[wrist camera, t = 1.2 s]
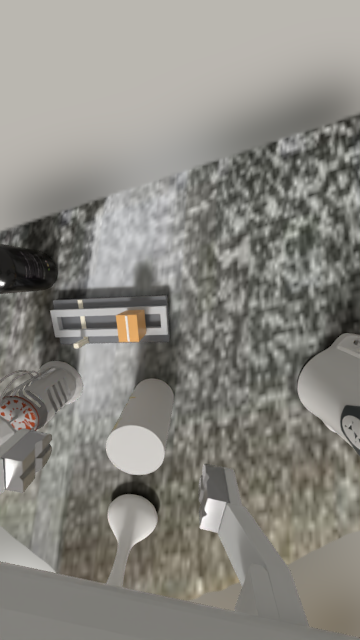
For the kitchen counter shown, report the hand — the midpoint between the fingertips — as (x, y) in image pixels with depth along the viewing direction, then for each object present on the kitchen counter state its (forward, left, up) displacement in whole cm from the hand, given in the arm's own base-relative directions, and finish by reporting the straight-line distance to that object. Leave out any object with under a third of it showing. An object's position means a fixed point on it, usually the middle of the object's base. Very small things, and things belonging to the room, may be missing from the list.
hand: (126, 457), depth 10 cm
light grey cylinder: (+5, +14, -25) cm, 29 cm away
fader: (+6, -2, -23) cm, 24 cm away
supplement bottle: (+23, -11, -25) cm, 36 cm away
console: (+11, -2, -25) cm, 27 cm away
